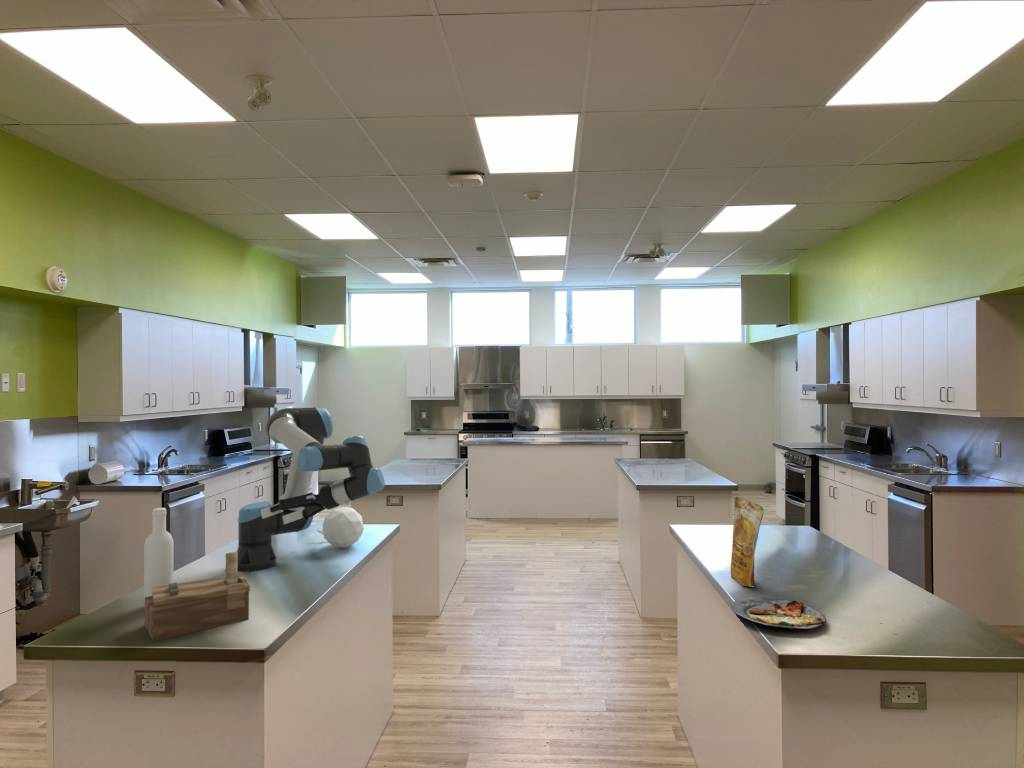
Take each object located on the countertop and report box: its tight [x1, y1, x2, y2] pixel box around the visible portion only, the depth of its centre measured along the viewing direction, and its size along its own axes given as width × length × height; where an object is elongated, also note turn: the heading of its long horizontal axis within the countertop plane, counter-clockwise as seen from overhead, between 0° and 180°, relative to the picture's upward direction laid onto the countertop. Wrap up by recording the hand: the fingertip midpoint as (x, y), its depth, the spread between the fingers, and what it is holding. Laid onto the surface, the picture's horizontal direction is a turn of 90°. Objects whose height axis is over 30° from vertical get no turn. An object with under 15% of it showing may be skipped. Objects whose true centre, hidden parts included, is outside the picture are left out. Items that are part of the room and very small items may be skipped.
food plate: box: [731, 596, 827, 630], centre depth 172 cm, size 25×23×4 cm
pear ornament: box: [316, 506, 365, 549], centre depth 254 cm, size 16×22×28 cm
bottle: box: [143, 507, 175, 610], centre depth 182 cm, size 8×8×30 cm
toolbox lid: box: [152, 573, 251, 607], centre depth 172 cm, size 14×24×3 cm, turn 123°
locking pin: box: [225, 551, 239, 585], centre depth 176 cm, size 3×3×14 cm
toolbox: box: [143, 591, 250, 642], centre depth 169 cm, size 14×24×8 cm, turn 130°
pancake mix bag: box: [730, 496, 764, 588], centre depth 206 cm, size 7×19×28 cm, turn 0°
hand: (273, 517), depth 187 cm, fingers open, 13 cm apart
